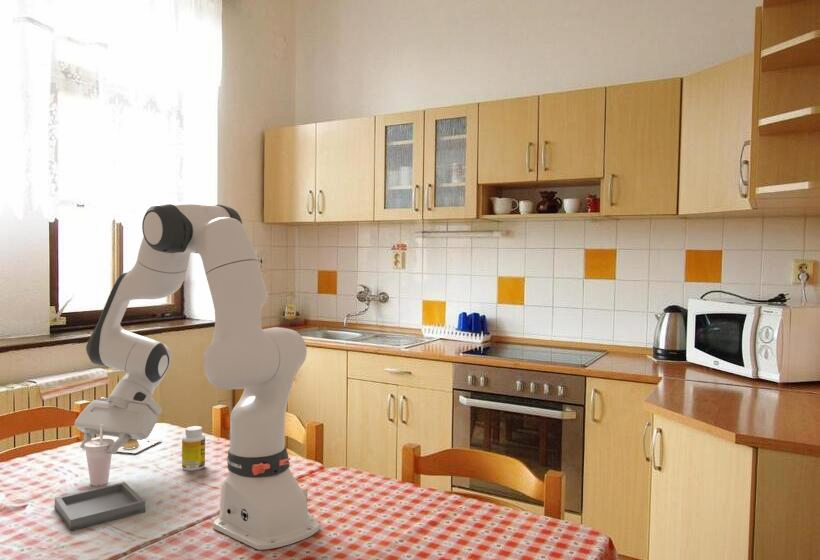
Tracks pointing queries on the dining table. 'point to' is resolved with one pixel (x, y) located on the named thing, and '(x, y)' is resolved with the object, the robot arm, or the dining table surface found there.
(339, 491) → the dining table surface
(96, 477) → the smoothie
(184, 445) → the supplement bottle
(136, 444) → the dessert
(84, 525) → the tray
